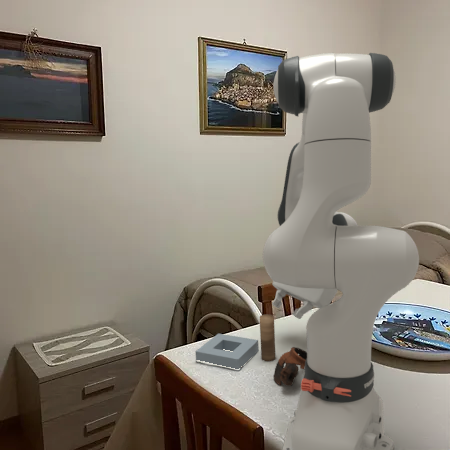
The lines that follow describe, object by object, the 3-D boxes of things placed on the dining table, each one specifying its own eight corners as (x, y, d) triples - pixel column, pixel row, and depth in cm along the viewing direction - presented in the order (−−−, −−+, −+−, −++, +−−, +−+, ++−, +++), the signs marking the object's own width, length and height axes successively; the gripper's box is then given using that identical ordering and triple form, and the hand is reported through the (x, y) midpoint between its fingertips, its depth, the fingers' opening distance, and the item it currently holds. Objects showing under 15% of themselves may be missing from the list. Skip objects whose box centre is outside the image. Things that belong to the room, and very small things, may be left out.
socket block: (238, 371, 110) (238, 359, 109) (196, 362, 115) (195, 351, 115) (258, 350, 120) (258, 340, 120) (218, 343, 126) (218, 333, 125)
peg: (272, 362, 113) (270, 320, 111) (259, 360, 115) (257, 318, 113) (277, 356, 116) (276, 315, 114) (264, 354, 118) (263, 313, 116)
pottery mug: (276, 369, 110) (292, 341, 109) (310, 393, 107) (327, 363, 106) (261, 381, 99) (279, 349, 98) (298, 408, 96) (317, 375, 95)
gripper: (285, 253, 127) (256, 294, 124) (333, 269, 109) (301, 316, 106) (298, 266, 129) (270, 306, 127) (348, 283, 111) (317, 330, 109)
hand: (285, 311), depth 116 cm, fingers open, 8 cm apart
